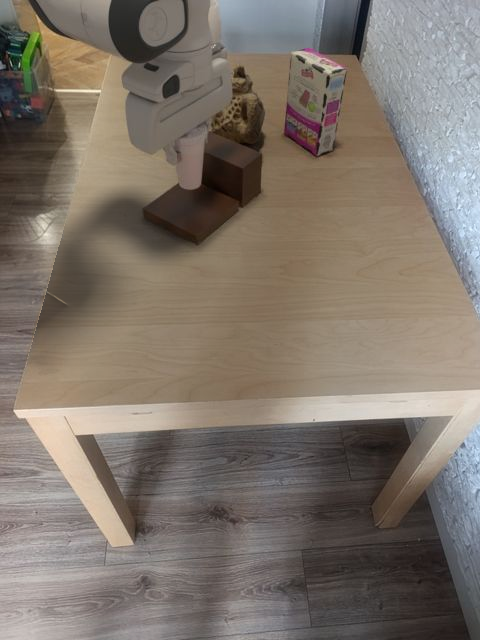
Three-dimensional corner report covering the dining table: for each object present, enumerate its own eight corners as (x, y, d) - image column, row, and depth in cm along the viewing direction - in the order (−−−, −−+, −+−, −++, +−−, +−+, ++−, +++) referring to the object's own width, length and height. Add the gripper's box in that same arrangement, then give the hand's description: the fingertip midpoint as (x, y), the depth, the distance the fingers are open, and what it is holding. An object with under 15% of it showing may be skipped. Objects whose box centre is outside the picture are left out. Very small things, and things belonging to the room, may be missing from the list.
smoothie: (216, 180, 85) (214, 98, 74) (193, 199, 82) (187, 115, 71) (186, 168, 87) (180, 85, 76) (163, 185, 84) (152, 101, 73)
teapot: (195, 120, 110) (190, 45, 98) (244, 112, 113) (245, 38, 101) (230, 173, 98) (229, 95, 86) (283, 162, 101) (290, 86, 89)
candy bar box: (334, 150, 105) (349, 67, 92) (316, 157, 103) (329, 74, 90) (300, 127, 110) (309, 45, 97) (282, 133, 108) (289, 51, 95)
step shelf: (143, 217, 88) (137, 178, 82) (210, 169, 98) (208, 130, 92) (197, 245, 85) (194, 205, 78) (260, 192, 95) (262, 153, 88)
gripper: (208, 32, 76) (211, 121, 87) (111, 80, 65) (128, 174, 76) (242, 44, 74) (241, 133, 85) (148, 95, 63) (160, 190, 74)
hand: (187, 153), depth 80 cm, fingers closed on smoothie, 5 cm apart
